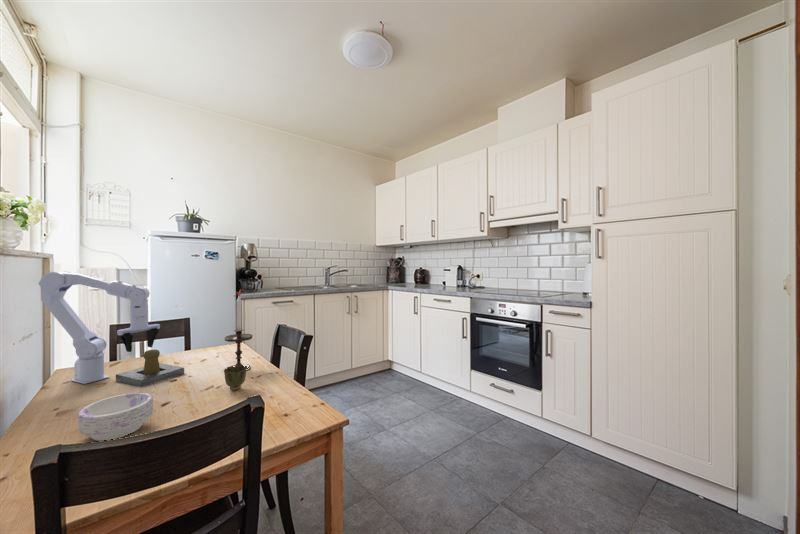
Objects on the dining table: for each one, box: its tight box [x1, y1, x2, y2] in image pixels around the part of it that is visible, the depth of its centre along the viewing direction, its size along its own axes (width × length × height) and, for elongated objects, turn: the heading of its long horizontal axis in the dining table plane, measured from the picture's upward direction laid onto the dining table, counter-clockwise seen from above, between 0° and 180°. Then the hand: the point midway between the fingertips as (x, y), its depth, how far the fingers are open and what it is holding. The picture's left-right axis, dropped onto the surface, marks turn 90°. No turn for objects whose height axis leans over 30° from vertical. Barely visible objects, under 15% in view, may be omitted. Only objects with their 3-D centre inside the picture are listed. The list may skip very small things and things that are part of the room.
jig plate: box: [115, 362, 185, 388], centre depth 129 cm, size 16×16×2 cm
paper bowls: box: [77, 392, 154, 442], centre depth 87 cm, size 15×15×8 cm
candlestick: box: [224, 289, 253, 369], centre depth 140 cm, size 11×11×35 cm
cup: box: [223, 365, 247, 392], centre depth 117 cm, size 8×7×8 cm
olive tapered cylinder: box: [143, 349, 161, 375], centre depth 129 cm, size 6×6×11 cm
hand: (139, 349), depth 133 cm, fingers open, 7 cm apart
